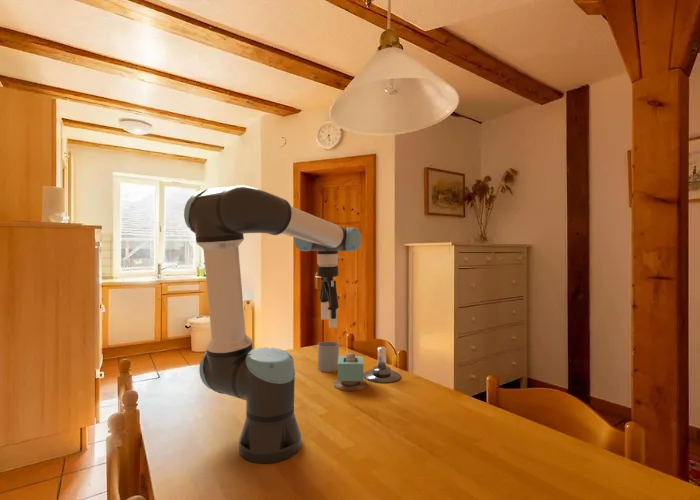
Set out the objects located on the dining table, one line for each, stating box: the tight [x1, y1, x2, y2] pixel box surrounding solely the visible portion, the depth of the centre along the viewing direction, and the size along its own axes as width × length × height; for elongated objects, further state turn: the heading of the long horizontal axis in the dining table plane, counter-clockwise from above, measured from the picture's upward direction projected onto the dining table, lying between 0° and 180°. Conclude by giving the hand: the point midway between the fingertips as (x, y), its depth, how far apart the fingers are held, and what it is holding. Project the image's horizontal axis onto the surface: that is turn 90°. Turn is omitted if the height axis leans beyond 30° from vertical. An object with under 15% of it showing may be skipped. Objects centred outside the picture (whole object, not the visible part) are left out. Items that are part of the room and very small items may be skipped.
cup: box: [317, 341, 340, 373], centre depth 155 cm, size 8×8×10 cm
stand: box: [333, 352, 368, 392], centre depth 137 cm, size 12×12×11 cm
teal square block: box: [337, 355, 365, 381], centre depth 137 cm, size 9×9×6 cm
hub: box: [364, 346, 401, 384], centre depth 146 cm, size 14×14×11 cm
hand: (328, 323), depth 140 cm, fingers open, 13 cm apart
